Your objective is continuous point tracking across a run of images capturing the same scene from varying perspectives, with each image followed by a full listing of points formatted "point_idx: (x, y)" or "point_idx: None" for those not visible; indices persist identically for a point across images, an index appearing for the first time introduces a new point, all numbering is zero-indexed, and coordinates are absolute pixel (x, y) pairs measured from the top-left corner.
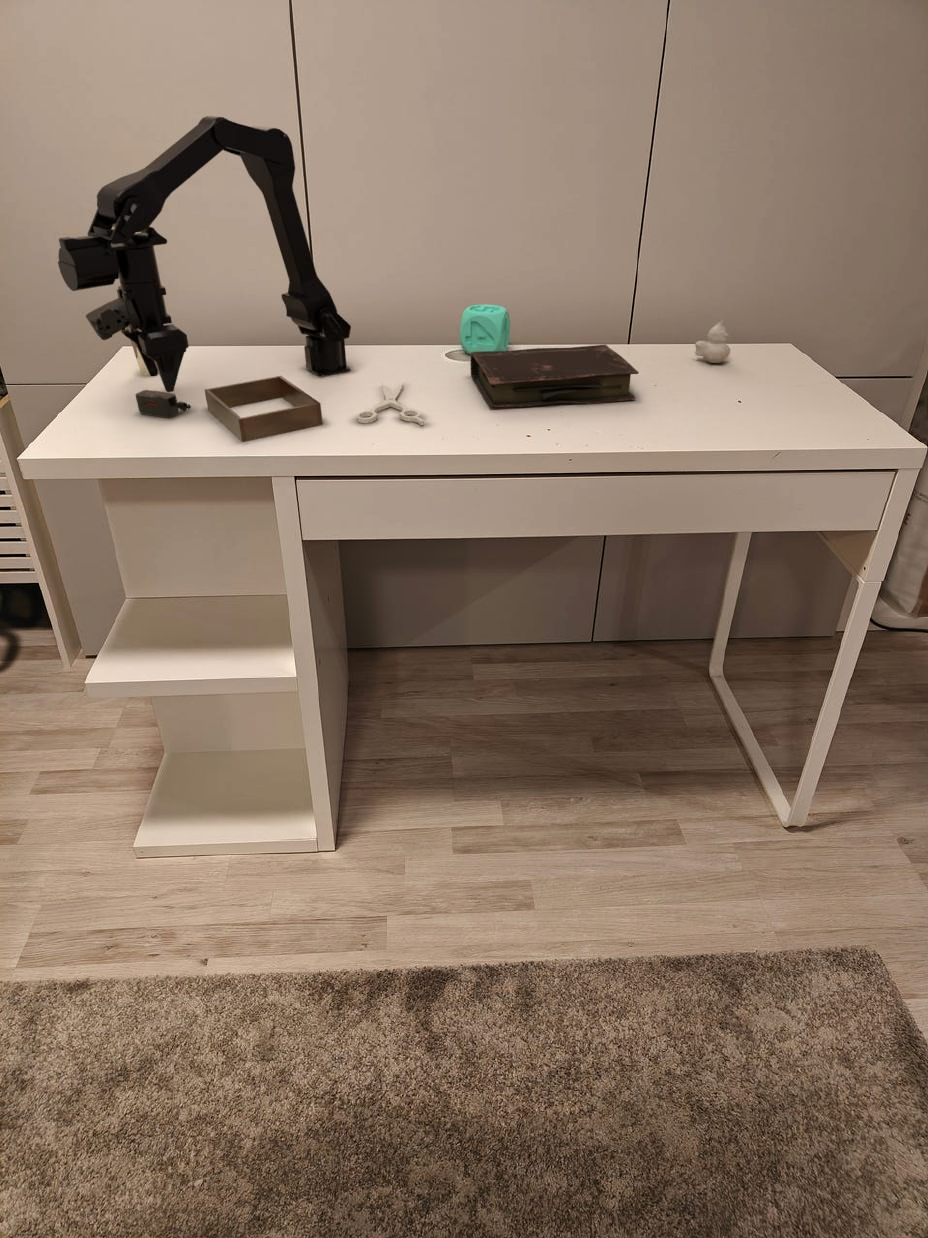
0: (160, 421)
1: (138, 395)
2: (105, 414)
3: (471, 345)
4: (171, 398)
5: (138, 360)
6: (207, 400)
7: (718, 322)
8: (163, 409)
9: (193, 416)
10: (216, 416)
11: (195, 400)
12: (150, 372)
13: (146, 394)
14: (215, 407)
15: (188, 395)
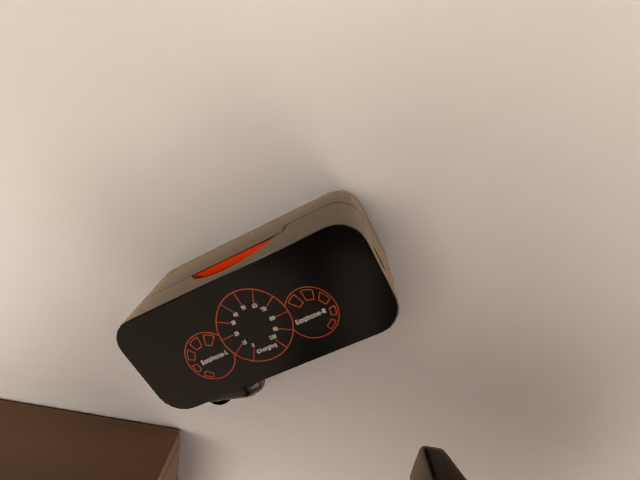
0: (167, 220)
1: (315, 235)
2: (514, 16)
3: None
4: (140, 363)
5: None
6: (136, 471)
7: None
8: (169, 279)
9: None
10: (51, 415)
11: (342, 450)
12: (428, 474)
13: (297, 285)
14: (8, 451)
15: None
